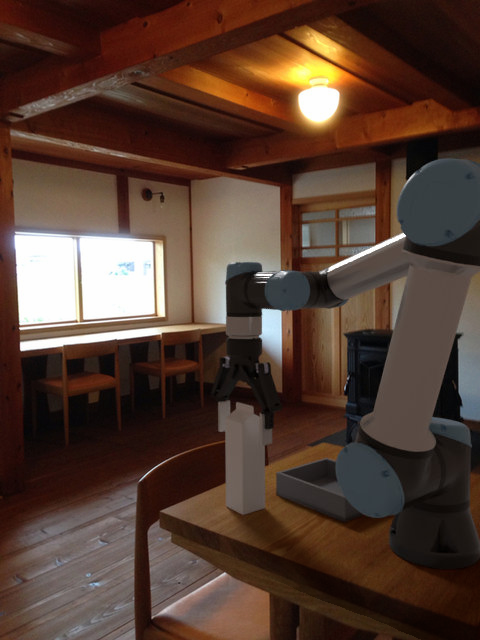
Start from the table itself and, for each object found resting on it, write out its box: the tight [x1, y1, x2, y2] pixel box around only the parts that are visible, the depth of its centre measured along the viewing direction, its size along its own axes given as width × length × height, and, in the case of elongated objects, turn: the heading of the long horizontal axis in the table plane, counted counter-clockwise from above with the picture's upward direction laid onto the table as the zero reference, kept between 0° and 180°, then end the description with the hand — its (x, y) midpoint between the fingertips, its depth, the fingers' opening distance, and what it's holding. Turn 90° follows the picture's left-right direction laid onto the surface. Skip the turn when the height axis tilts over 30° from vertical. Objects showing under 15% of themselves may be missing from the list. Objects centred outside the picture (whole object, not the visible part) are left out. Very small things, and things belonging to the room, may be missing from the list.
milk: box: [224, 401, 266, 516], centre depth 116 cm, size 6×6×22 cm
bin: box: [275, 457, 365, 523], centre depth 121 cm, size 20×17×5 cm
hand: (244, 437), depth 116 cm, fingers open, 13 cm apart
